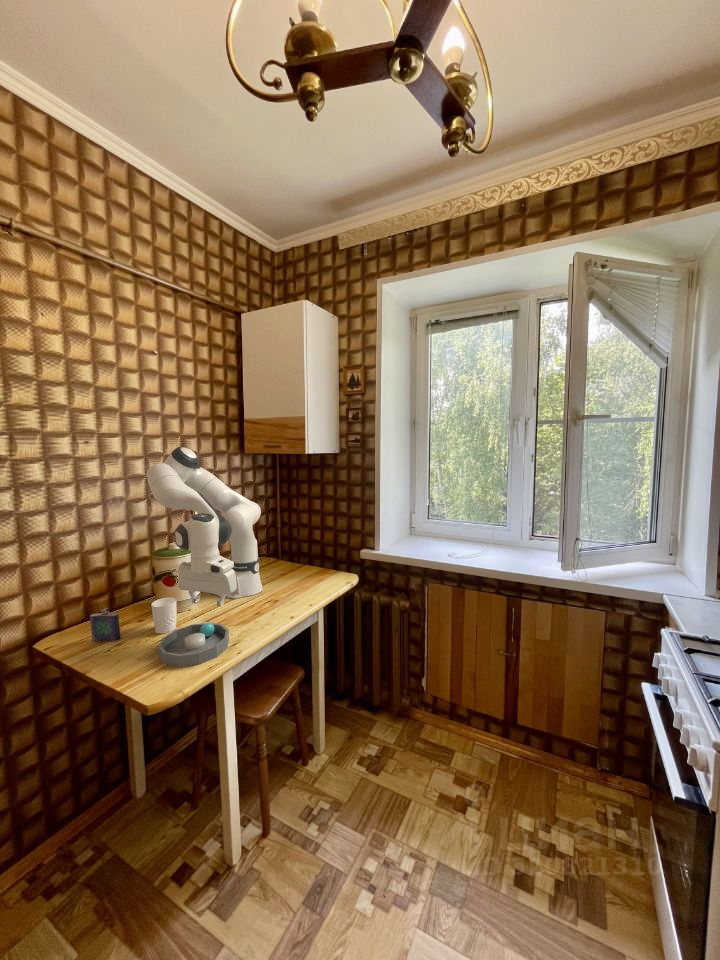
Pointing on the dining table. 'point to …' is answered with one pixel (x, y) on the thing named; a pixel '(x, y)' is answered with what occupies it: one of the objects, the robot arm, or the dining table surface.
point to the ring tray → (192, 645)
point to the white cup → (164, 615)
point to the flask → (105, 626)
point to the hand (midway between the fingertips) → (208, 604)
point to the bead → (207, 629)
